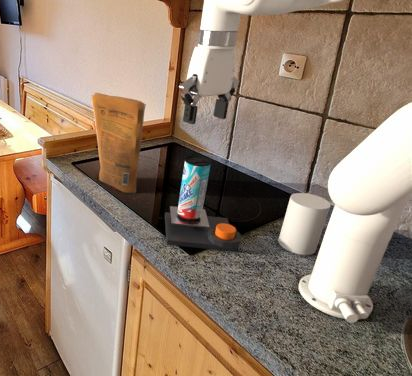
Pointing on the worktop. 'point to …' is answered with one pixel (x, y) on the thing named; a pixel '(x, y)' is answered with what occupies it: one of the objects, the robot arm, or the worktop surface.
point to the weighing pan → (180, 221)
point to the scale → (200, 235)
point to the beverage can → (193, 187)
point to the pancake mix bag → (118, 139)
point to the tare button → (225, 231)
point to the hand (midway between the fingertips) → (204, 120)
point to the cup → (303, 223)
